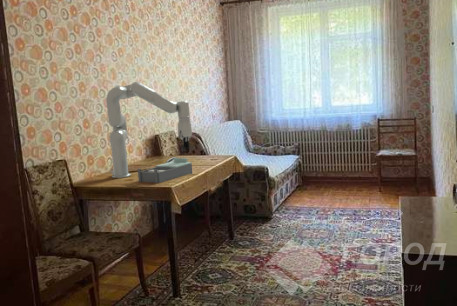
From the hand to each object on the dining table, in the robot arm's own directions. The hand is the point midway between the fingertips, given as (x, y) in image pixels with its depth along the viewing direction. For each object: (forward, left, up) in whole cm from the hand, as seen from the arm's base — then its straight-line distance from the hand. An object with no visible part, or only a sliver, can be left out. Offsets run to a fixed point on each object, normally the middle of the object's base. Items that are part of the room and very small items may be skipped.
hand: (186, 147), depth 291 cm
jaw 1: (-4, -31, -16) cm, 35 cm away
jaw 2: (+3, -31, -16) cm, 35 cm away
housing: (0, -23, -17) cm, 29 cm away
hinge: (-17, +5, -17) cm, 24 cm away
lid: (0, -15, -10) cm, 18 cm away
